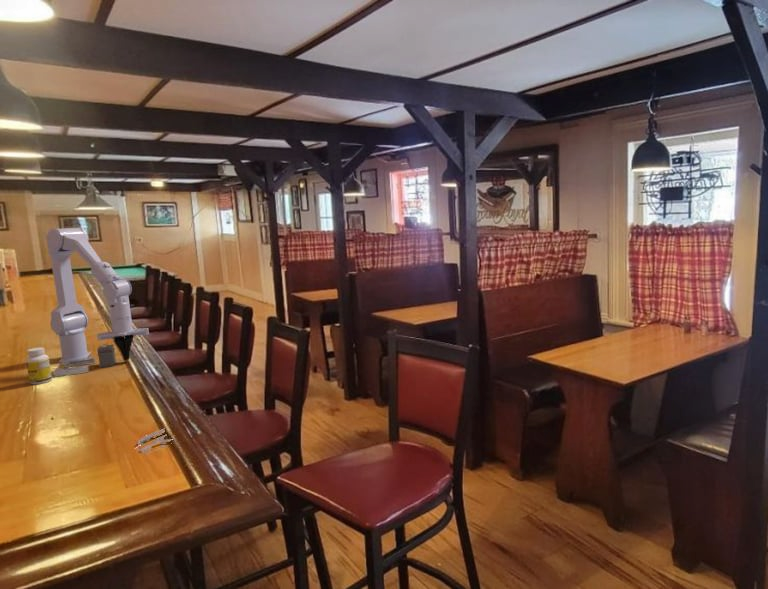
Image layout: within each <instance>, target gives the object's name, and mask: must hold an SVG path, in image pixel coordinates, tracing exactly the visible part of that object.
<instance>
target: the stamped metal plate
mask: <svg viewBox="0 0 768 589" xmlns="http://www.w3.org/2000/svg"><path fill="white" fill-rule="evenodd" d="M165 428H166V427H165ZM165 428H162V429H160V430H157V431H154V432H151V433H149V434H147V435H144V436H142V437H141V438H140V439H139V440H137V446H136V447H135V448H134V449H135V450H137V451H139V452H141V453H143V454H145V455H148V454H151V453H154V452H157V451H159V450H161V449H163V448H166V447H167V445H166V444H165V442H167V443H169V442H170V441H171V440H173V439H164V437H165V436H167V434H165V435H162V436H160V437H158V438H155V439H154V442H153V443H150V444H147V445H145V446H142V447H140V446H141V445H143V444H145V443H148V442H149V441H152V440H151V439H152V438H153V437H154V436H157V435H159V434H162V433H164V432H165V430H164V429H165ZM159 440H160V441H159ZM157 444H160V448H157V449H155V450H152V451H149V450H151V449H152V446H155V445H157ZM138 447H140V449H138Z"/></svg>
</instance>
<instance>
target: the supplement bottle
mask: <svg viewBox="0 0 768 589" xmlns="http://www.w3.org/2000/svg"><path fill="white" fill-rule="evenodd" d="M45 351H46V350H45V348H44V347H41V346H40V347H33V348H30V349H27V355H28V356H29V357H27V358H26V360H25V361H26V368H27V374H28V380H29V383H30V385H42V384H47V383H49V382H51V381H52V380H53V377H52V370H51V364H50V357H49V355H47V354H45V353H46V352H45Z"/></svg>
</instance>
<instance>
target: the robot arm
mask: <svg viewBox="0 0 768 589" xmlns="http://www.w3.org/2000/svg"><path fill="white" fill-rule="evenodd" d="M45 238H46V244H47V245H46V246H47V251H48V254H49V256H50V262H51V268H52V275H53V280H54V281H53V282H54V287H55V294H56V300H57V306H55V308H54V309H53V310H52V311H51V312H50V316H51V317H50V318H51V319H50V324H49V325H50V329H51V331H53V333H55V334H56V336H58V339H59V344H60V345H59V346H60V351H61V352H60V353H61V358H60V359H59V361H58V363H62V362H63V361H70V360H77V359H85V358H89V356H90V354H91V353H92V351H88V347H87V346H88V345H87V344H88V343H87V338H86V335H85V331H86V328H87V327H88V325H89V317H88V315H87V314H86V311H85V310H86V309H85V307H84V306H82V305H81V304H79V303H78V302H77V294H76V289H75V288H76V287H75V284H74V277H73V276H74V275H73V270H72V264H71V256H72V254H73V253H75V252H76V253H77V254H78V256H80V257H81V258H82V259H83V260H84V261H85V262H86V263H87V264H88V266H89V267H91V268H90V272H91V275H92V276H93V278H95V279H96V281H97V282H98V283H99V284H100V285H101V287H102V294H103V297H104V298H105V300H106V304H107V305H108V306H109V313H110V321H111V327H112V331H107V332H102V333H99V332H98V333H97V334H96V336H97V341H98V342H100V341H103V340H112V339H114V340H113V342H114V343H115V345H116V346H117V347H118V349H119V351H120V353H121V355H122V357H123V361H128V360H130V357H131V356H130V354H131V346H132V342H133V339H134V337H137V336H144V335H145V336H146V335H149V334H150V332H149V328H148V327H145V328H144V327H142V328H134V327H133V320H132V313H131V306H130V299H129V298H130V297H129V296H130V295H131V294H132V291H133V287H132V284H131V281H129V279H127V278H123V277H122V276H119V275H118V273H117V272H116V271H115V269H114V268H113V267H112V266H111V264H110V263H109V262H107V261H102V260H101V258H100V257H99V255H98V253H96V251H95V250H94V248H93V247H92V245H91V244H90V242H89V241H90V240H89V235H88V234H87V233H86V231H85V229H83V228H82V227H80V226H79V227H67V228H51V229H50V230H49V231H48V232H47V233H46V235H45Z"/></svg>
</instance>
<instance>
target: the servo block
mask: <svg viewBox="0 0 768 589" xmlns="http://www.w3.org/2000/svg"><path fill="white" fill-rule="evenodd" d="M114 346H115V345H114V344H107V343H104V344H101V345H99V346H98V347H97V357H98V363H99V368H106V367H112V366H113V367H114V366H115V365H116V363H117V361H116V355H115V354H116V353H115V350H116V349H115V347H114Z"/></svg>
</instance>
